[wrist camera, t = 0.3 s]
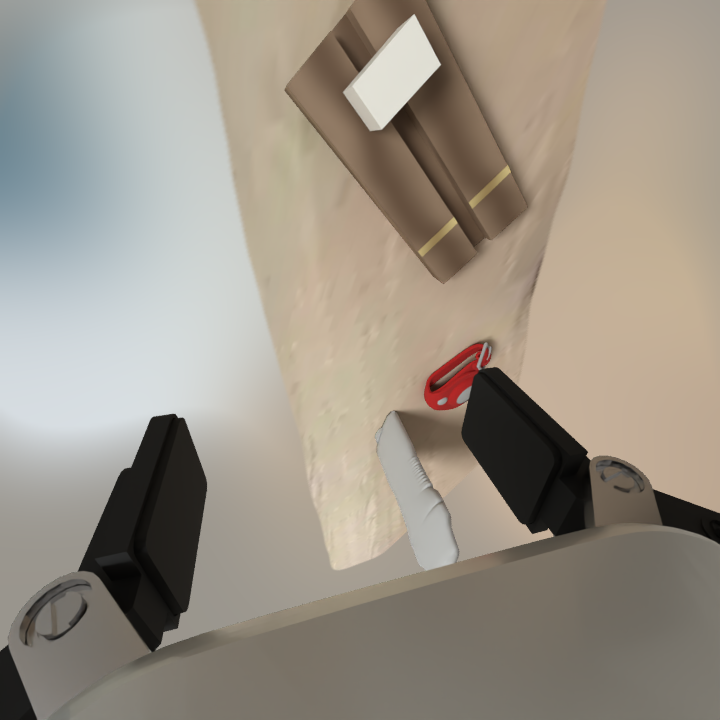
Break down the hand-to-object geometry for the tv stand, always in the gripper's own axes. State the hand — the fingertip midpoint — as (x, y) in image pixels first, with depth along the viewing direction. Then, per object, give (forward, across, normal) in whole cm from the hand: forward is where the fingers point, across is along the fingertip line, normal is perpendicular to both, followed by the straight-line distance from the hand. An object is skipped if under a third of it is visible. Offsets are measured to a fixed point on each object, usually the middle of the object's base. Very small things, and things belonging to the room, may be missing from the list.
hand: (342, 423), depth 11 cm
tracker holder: (+30, -24, +22) cm, 44 cm away
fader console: (+30, -14, -7) cm, 33 cm away
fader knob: (+28, -9, -12) cm, 32 cm away
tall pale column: (+30, -13, +32) cm, 46 cm away
